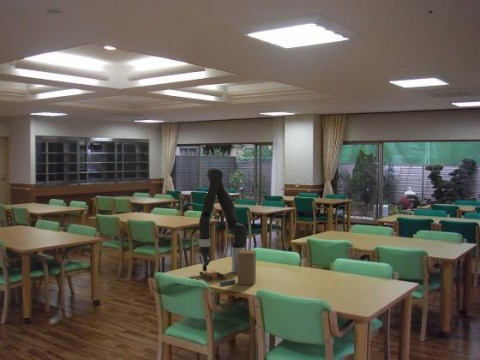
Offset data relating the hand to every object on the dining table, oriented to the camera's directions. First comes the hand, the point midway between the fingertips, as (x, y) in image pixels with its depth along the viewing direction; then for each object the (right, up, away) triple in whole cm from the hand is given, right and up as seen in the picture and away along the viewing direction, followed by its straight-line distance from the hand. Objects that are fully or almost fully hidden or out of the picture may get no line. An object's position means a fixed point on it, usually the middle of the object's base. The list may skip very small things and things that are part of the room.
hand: (204, 270), depth 320 cm
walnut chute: (+5, -3, -9) cm, 10 cm away
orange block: (+5, -3, -8) cm, 9 cm away
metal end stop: (+16, -4, -27) cm, 31 cm away
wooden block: (+28, -4, -23) cm, 36 cm away
